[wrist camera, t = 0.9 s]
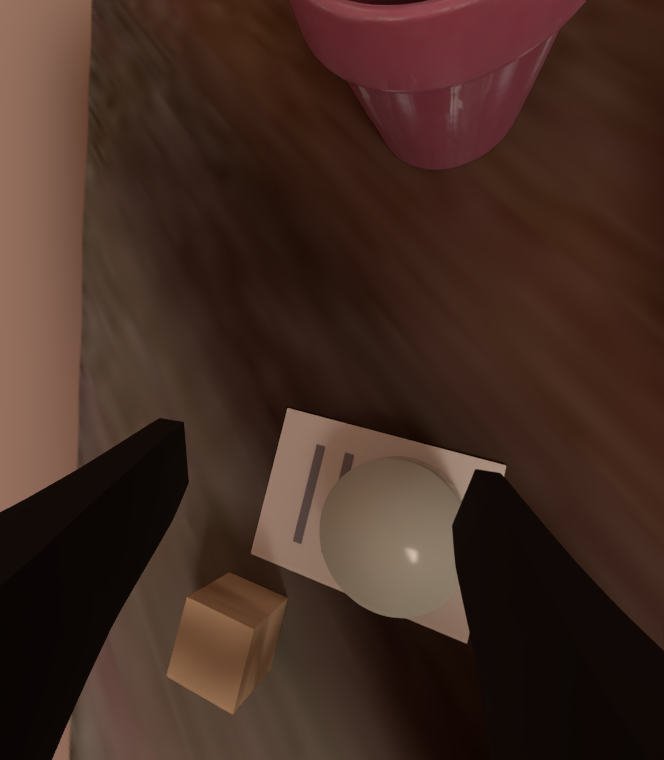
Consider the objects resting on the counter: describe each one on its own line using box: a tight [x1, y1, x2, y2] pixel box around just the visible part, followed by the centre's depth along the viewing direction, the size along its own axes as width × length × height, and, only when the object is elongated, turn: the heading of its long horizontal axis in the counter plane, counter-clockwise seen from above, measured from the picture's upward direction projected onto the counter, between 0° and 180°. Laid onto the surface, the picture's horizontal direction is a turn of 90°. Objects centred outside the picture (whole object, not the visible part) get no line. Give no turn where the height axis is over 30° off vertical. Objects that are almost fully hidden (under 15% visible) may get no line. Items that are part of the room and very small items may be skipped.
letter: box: [251, 408, 506, 644], centre depth 25 cm, size 10×14×1 cm
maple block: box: [166, 572, 288, 715], centre depth 24 cm, size 4×4×4 cm
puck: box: [319, 456, 462, 618], centre depth 22 cm, size 8×8×3 cm
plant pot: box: [289, 0, 586, 170], centre depth 21 cm, size 14×14×13 cm
